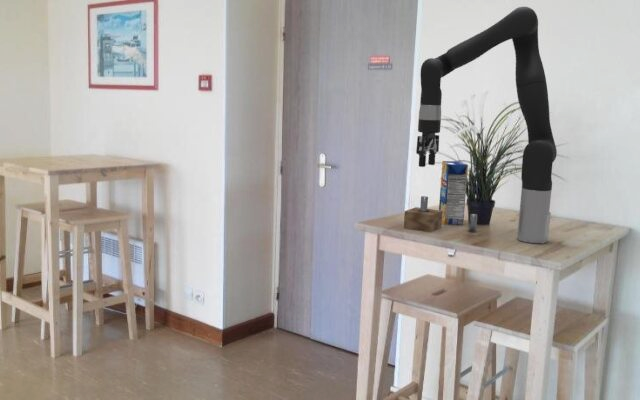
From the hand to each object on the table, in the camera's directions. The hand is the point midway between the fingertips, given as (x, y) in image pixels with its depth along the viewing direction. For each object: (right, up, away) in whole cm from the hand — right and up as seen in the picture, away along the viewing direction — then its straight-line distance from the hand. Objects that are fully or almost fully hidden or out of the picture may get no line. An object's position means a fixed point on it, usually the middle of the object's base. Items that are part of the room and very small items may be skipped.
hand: (426, 165), depth 214 cm
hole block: (-1, -22, +4) cm, 22 cm away
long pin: (-1, -22, +4) cm, 22 cm away
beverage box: (+12, -20, +16) cm, 28 cm away
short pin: (+16, -23, 0) cm, 28 cm away
